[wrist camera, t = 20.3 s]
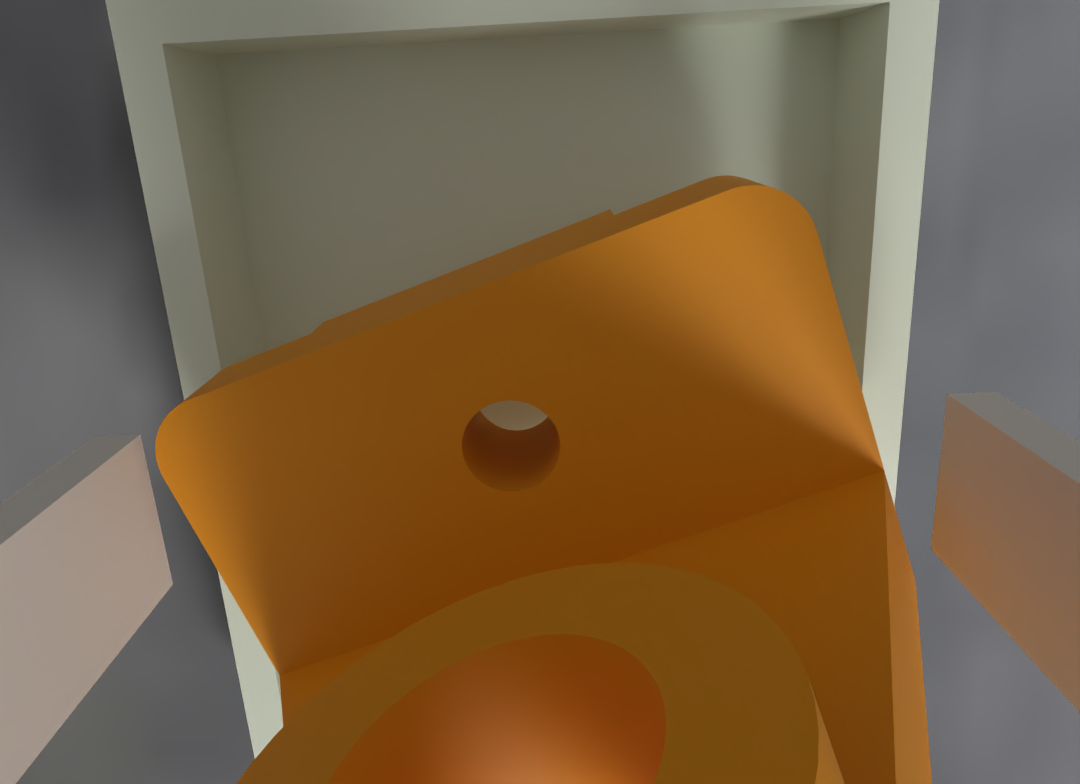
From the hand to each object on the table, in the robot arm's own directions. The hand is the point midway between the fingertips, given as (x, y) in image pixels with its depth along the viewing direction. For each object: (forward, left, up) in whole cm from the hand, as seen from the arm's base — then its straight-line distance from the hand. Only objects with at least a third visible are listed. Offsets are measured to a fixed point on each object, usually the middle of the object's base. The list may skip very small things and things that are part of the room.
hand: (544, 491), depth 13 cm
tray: (0, 0, -6) cm, 6 cm away
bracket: (0, 0, -3) cm, 3 cm away
